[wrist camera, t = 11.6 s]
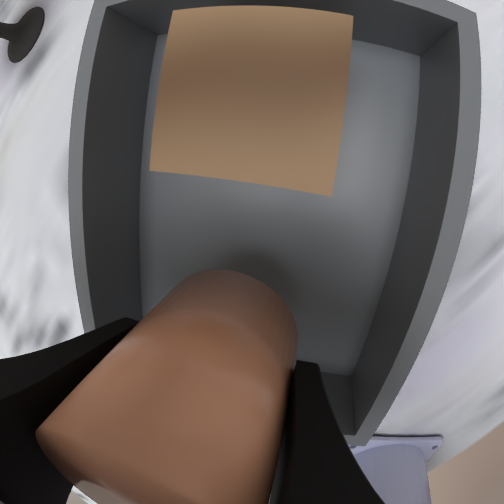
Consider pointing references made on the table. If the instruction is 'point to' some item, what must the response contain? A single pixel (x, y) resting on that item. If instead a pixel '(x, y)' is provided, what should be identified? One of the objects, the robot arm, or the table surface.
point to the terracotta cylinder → (184, 400)
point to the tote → (289, 193)
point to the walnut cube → (253, 95)
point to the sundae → (22, 33)
